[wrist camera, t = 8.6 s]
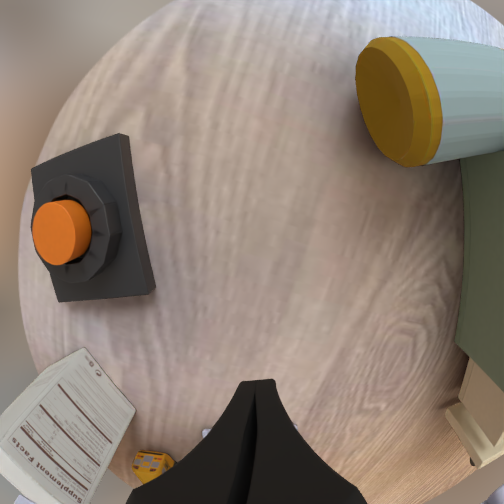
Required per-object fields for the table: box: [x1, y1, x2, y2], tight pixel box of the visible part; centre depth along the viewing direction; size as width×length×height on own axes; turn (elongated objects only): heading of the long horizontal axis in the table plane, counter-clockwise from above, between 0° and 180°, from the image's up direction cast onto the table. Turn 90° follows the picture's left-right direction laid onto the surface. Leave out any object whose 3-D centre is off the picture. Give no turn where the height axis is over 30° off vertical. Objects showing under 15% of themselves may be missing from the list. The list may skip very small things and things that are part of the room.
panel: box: [31, 133, 156, 302], centre depth 16 cm, size 10×8×3 cm
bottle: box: [355, 37, 504, 167], centre depth 11 cm, size 7×7×15 cm
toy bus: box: [132, 450, 178, 484], centre depth 21 cm, size 3×10×4 cm, turn 9°
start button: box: [33, 200, 92, 265], centre depth 14 cm, size 4×4×2 cm
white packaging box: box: [0, 348, 136, 504], centre depth 15 cm, size 7×7×13 cm
